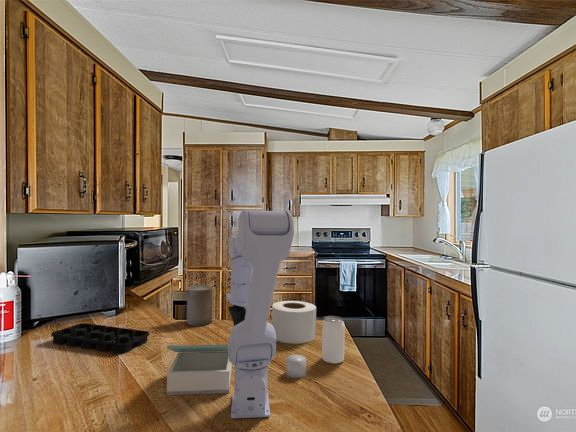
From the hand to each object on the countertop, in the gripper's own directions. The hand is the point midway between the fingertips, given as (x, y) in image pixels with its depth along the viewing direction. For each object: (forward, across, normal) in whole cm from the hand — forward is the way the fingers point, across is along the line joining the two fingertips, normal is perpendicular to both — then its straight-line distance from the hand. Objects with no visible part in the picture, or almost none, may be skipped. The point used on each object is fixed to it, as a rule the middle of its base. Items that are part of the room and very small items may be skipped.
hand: (240, 334), depth 87 cm
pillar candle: (+12, +48, -6) cm, 50 cm away
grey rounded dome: (+10, -8, -13) cm, 18 cm away
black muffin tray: (+12, +44, +28) cm, 53 cm away
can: (+11, -6, -27) cm, 30 cm away
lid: (+3, +2, +10) cm, 10 cm away
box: (+10, +1, +10) cm, 14 cm away
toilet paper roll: (+11, +16, -29) cm, 35 cm away
